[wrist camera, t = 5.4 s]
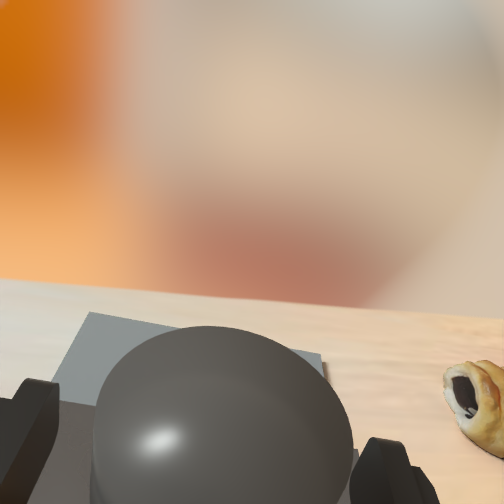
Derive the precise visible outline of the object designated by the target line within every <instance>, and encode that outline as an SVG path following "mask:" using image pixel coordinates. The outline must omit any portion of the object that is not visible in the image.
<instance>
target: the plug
mask: <svg viewBox="0 0 504 504" xmlns="http://www.w3.org/2000/svg"><path fill="white" fill-rule="evenodd" d="M352 463H353V437H352V430H351V427H350V423H349V420H348V416H347V414H346V412H345V409H344V407H343V405H342V403H341V401H340V399H339V398H338V396H337V394H336V393H335V391H334V390H333V388H332V387H331V386H330V384H329V383H328V382H327V381H326V379H325V378H324V377H323V376H322V375H321V374H320V373H319V372H318V371H317V370H316V369H315V368H314V367H313V366H312V365H311V364H310V363H308V362H307V361H306V360H305V359H303V358H302V357H301V356H299V355H298V354H296V353H295V352H293V351H292V350H290V349H288V348H287V347H285V346H283V345H281V344H279V343H277V342H275V341H273V340H271V339H268V338H266V337H264V336H261V335H258V334H255V333H251V332H248V331H244V330H239V329H235V328H227V327H217V326H197V327H188V328H182V329H177V330H173V331H169V332H166V333H163V334H160V335H157V336H155V337H153V338H151V339H148V340H146V341H144V342H143V343H141V344H140V345H138V346H136V347H135V348H133V349H132V350H131V351H130V352H128V353H127V354H126V355H125V356H123V358H122V359H121V360H120V361H119V362H118V363H117V364H116V365H115V366H114V367H113V369H112V370H111V372H110V373H109V374H108V376H107V377H106V379H105V381H104V383H103V385H102V387H101V390H100V393H99V396H98V399H97V402H96V409H95V415H94V429H93V444H92V458H91V473H90V504H337V503H338V501H339V499H340V497H341V495H342V493H343V491H344V490H345V488H346V485H347V482H348V480H349V477H350V474H351V469H352Z"/></svg>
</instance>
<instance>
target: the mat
mask: <svg viewBox="0 0 504 504" xmlns="http://www.w3.org/2000/svg"><path fill="white" fill-rule="evenodd" d="M177 329H181V328H175V327H170V326H164V325H159V324H153V323H148V322H143V321H137V320H132V319H126V318H121V317H115V316H110V315H105V314H99V313H94V312H89V314H88V315H87V317H86V319H85V321H84V323H83V324H82V326H81V328H80V330H79V332H78V334H77V335H76V337H75V339H74V341H73V343H72V344H71V346H70V348H69V350H68V352H67V354H66V355H65V357H64V359H63V361H62V363H61V365H60V366H59V368H58V370H57V372H56V374H55V375H54V377H53V379H52V381H51V382H55V383H59V386H60V400H62V401H68V402H74V403H80V404H86V405H92V406H96V402H97V399H98V396H99V393H100V390H101V387H102V385H103V383H104V381H105V379H106V377H107V376H108V374H109V373H110V372H111V370H112V369H113V367H114V366H115V365H116V364H117V363H118V362H119V361H120V360H121V359H122V358H123V356H125V355H126V354H127V353H128V352H130V351H131V350H132V349H133V348H135V347H136V346H138V345H140V344H141V343H143V342H144V341H146V340H148V339H151V338H153V337H155V336H157V335H160V334H163V333H166V332H169V331H173V330H177ZM288 349H289V348H288ZM290 350H292V351H293V352H295V353H296V354H298V355H299V356H301V357H302V358H303V359H305V360H306V361H307V362H308V363H310V364H311V365H312V366H313V367H314V368H315V369H316V370H317V371H318V372H319V373H320V374H321V375H322V376H323V377H324V373H323V367H322V361H321V355H320V354H317V353H311V352H306V351H300V350H295V349H290Z"/></svg>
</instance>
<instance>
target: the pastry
mask: <svg viewBox="0 0 504 504" xmlns="http://www.w3.org/2000/svg"><path fill="white" fill-rule="evenodd" d="M443 380H444V389H445V390H444V391H443V393H444V396H445V399H446V401H447V403H448V404H449V406H450V408H451V409H452V411H453V412H454V414H455V417H456V420H457V423H458V426H459V428H460V429H461V431H462V432H463V433H464V434H465V435H466V436H467V437H469V439H471V440H473V441H474V442H475V443H476V444H477V445H478V446H479V447H480V448H482V449H484V450H485V451H487V452H489V453H491V454H493V455H495V456H497V457H499V458H504V367H501V368H500V367H499V366H497V365H495V364H493V363H492V362H490V361H488V360H483V361H477V362H475V363H472V362H469V361H467V362H465V363H463V364H458V365H455V366H453V367H451V368H448V369H447V370H446V372H445V373H444V375H443Z"/></svg>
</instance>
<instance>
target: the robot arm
mask: <svg viewBox="0 0 504 504" xmlns="http://www.w3.org/2000/svg"><path fill="white" fill-rule="evenodd" d="M59 403H60V386H59V383H55V382H49V381H43V380H37V379H31V378H27V379H25V380H24V381H23V382H22V384H21V385H20V387H19V389H18V390H17V392H16V393H15V395H14V397H13V398H12V399H6V398H0V504H27V502H28V500H29V498H30V496H31V494H32V492H33V489H34V487H35V485H36V483H37V481H38V479H39V477H40V474H41V472H42V470H43V468H44V466H45V464H46V461H47V459H48V457H49V455H50V453H51V451H52V448H53V446H54V443H55V440H56V437H57V433H58V428H59ZM349 495H350V502H351V504H440V503H439V500H438V497H437V494H436V491H435V489H434V487H433V485H432V484H431V482H430V481H429V480H428V478H427V477H426V475H425V474H424V473H423V471H422V470H421V468H420V467H416V466H411V465H410V462H409V459H408V456H407V453H406V450H405V447H404V445H403V444H402V443H401V442H399V441H393V440H387V439H381V438H375V437H372V438H370V439H369V441H368V442H367V444H366V446H365V448H364V450H363V452H362V454H361V455H360V457H359V459H358V461H357V463H356V465H355V467H354V469H353V471H352V473H351V476H350V483H349Z"/></svg>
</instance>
